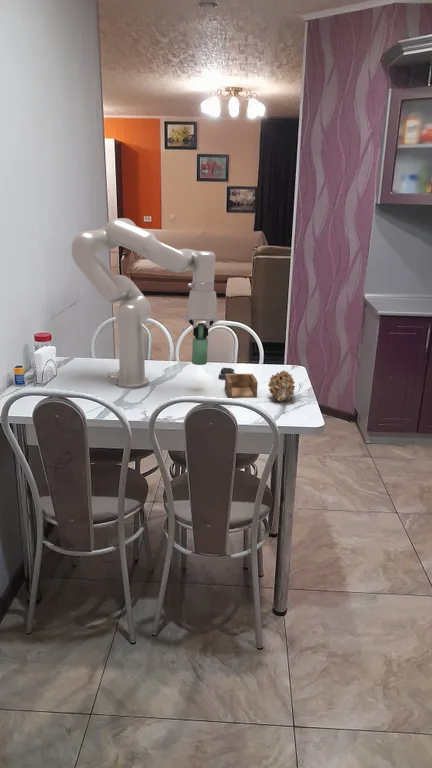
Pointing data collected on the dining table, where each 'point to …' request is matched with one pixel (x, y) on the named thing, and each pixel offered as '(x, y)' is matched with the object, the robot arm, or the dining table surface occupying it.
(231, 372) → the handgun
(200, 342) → the bottle
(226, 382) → the wooden square tray
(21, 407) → the dining table surface
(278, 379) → the pine cone
